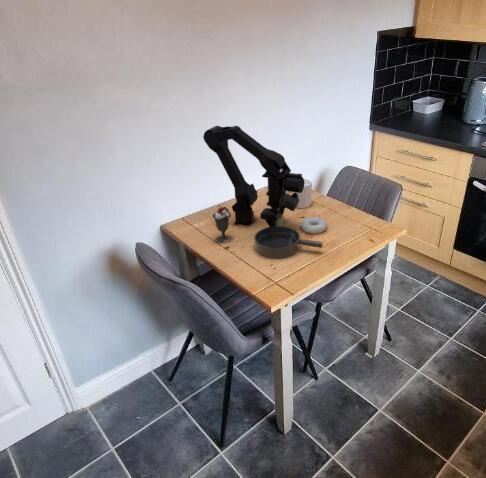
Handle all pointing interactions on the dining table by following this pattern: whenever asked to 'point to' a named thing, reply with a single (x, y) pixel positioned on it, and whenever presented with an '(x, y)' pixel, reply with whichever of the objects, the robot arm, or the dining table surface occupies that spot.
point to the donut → (313, 225)
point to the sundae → (222, 222)
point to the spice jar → (280, 220)
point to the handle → (311, 243)
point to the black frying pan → (277, 242)
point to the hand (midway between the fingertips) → (276, 226)
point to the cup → (305, 195)
